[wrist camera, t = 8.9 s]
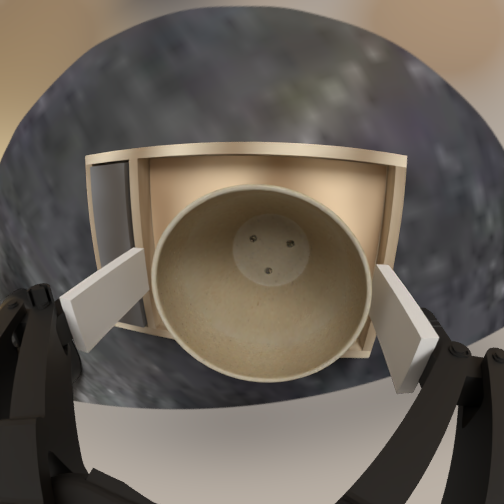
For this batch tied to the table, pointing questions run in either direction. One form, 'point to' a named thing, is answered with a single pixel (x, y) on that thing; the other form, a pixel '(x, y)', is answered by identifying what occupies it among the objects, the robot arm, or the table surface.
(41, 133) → the table surface
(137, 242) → the wooden tray
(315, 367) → the flower pot
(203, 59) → the table surface
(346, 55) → the table surface
